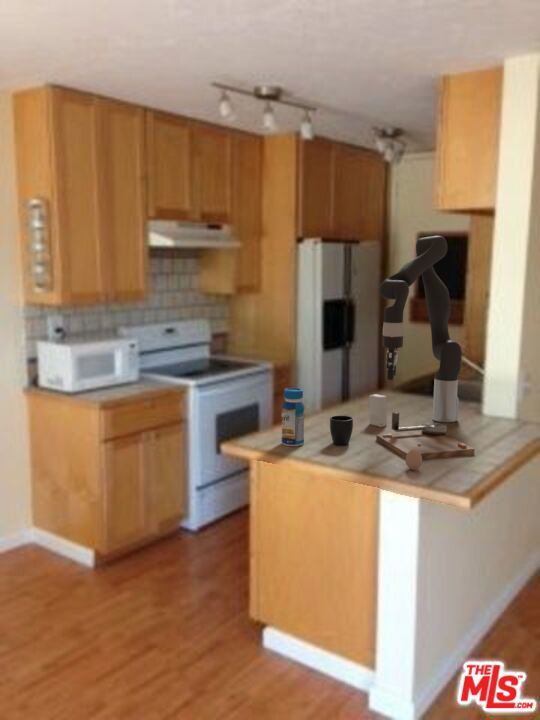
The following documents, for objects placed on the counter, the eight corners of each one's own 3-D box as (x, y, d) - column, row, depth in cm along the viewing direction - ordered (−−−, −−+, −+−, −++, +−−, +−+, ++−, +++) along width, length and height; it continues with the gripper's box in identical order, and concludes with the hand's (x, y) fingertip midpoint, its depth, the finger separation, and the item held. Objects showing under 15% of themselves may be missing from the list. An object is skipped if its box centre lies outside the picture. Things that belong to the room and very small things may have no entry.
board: (436, 435, 255) (437, 427, 254) (474, 454, 231) (474, 446, 230) (376, 440, 248) (376, 432, 247) (408, 460, 224) (408, 451, 223)
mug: (357, 439, 249) (358, 414, 247) (348, 447, 238) (349, 421, 236) (336, 436, 252) (336, 412, 250) (326, 445, 241) (327, 419, 239)
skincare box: (387, 425, 268) (388, 396, 266) (379, 427, 266) (380, 397, 264) (375, 422, 273) (376, 393, 271) (368, 424, 270) (369, 394, 268)
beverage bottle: (306, 446, 239) (307, 391, 236) (283, 447, 238) (283, 392, 235) (301, 439, 248) (302, 386, 244) (279, 440, 246) (279, 387, 243)
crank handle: (438, 428, 256) (439, 406, 255) (451, 434, 247) (452, 412, 246) (386, 432, 250) (387, 410, 249) (397, 438, 241) (398, 416, 240)
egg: (406, 466, 218) (406, 446, 217) (422, 468, 216) (423, 447, 215) (404, 471, 213) (405, 450, 212) (421, 473, 211) (422, 452, 210)
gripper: (384, 331, 257) (383, 373, 260) (380, 336, 243) (379, 380, 246) (404, 332, 255) (403, 374, 258) (401, 337, 241) (399, 381, 244)
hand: (391, 377), depth 252 cm, fingers open, 8 cm apart
